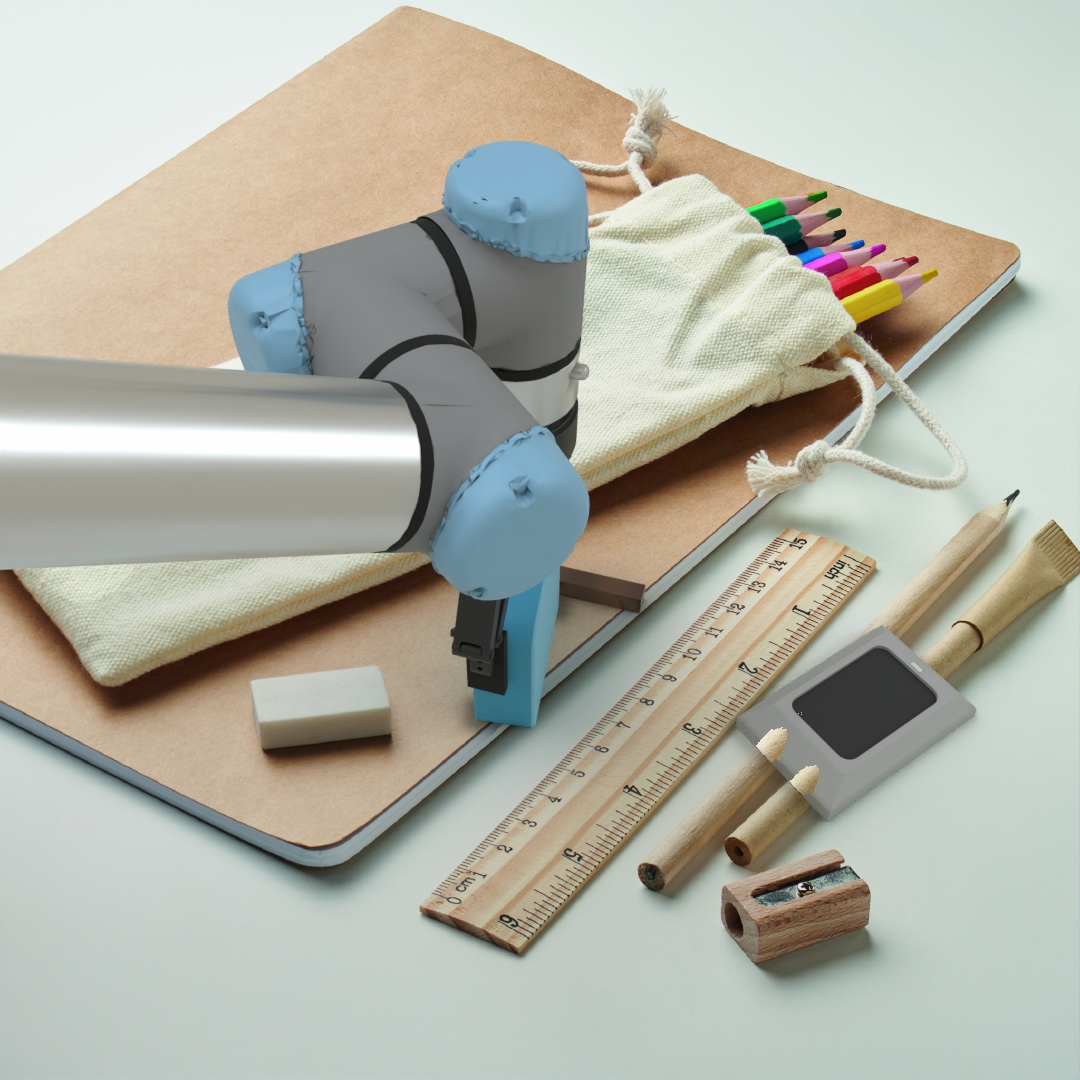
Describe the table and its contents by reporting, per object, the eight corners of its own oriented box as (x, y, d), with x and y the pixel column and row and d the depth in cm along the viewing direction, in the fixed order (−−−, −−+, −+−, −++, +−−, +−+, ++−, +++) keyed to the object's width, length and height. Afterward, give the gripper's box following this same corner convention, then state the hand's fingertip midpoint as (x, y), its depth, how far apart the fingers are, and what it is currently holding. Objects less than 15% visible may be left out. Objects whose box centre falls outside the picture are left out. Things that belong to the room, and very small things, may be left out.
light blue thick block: (503, 604, 98) (501, 503, 89) (558, 612, 97) (562, 510, 88) (474, 729, 90) (468, 631, 81) (534, 738, 90) (535, 640, 81)
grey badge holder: (739, 707, 87) (886, 613, 93) (733, 734, 90) (876, 641, 96) (833, 804, 82) (982, 698, 88) (823, 830, 85) (968, 726, 91)
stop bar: (518, 595, 98) (518, 571, 96) (524, 581, 100) (524, 557, 97) (638, 623, 97) (641, 599, 94) (643, 608, 98) (645, 584, 95)
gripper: (515, 558, 64) (515, 768, 80) (625, 288, 81) (606, 507, 96) (383, 527, 66) (408, 740, 82) (517, 268, 82) (516, 487, 98)
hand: (515, 614), depth 89 cm, fingers open, 13 cm apart
